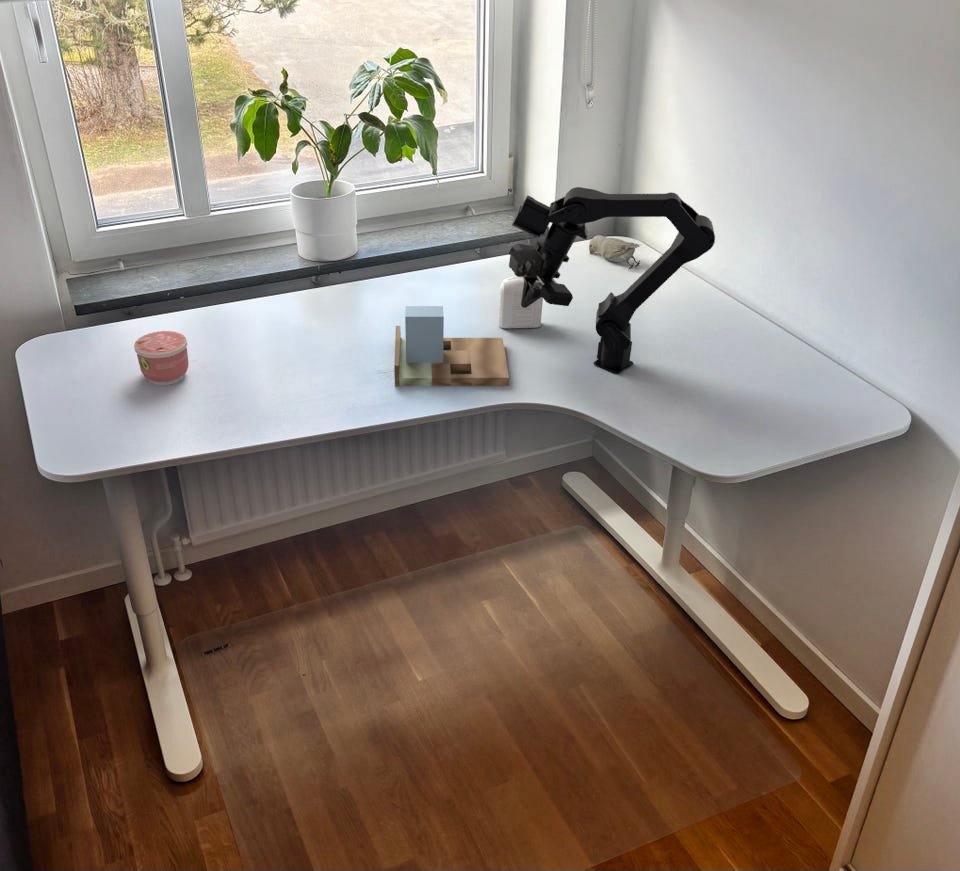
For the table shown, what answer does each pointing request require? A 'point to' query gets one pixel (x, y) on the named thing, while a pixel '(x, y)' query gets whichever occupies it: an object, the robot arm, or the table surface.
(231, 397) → the table surface
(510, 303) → the photo printer
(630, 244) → the decorative bird
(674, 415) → the table surface
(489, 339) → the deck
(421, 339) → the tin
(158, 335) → the container
